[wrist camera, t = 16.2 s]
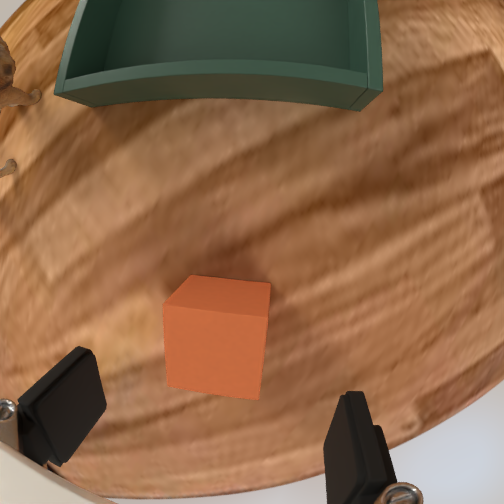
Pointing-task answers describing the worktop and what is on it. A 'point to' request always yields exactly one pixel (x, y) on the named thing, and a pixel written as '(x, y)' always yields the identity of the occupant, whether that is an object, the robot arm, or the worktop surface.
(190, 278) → the toy cube
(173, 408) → the worktop surface
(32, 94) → the lion figurine
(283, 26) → the crate
